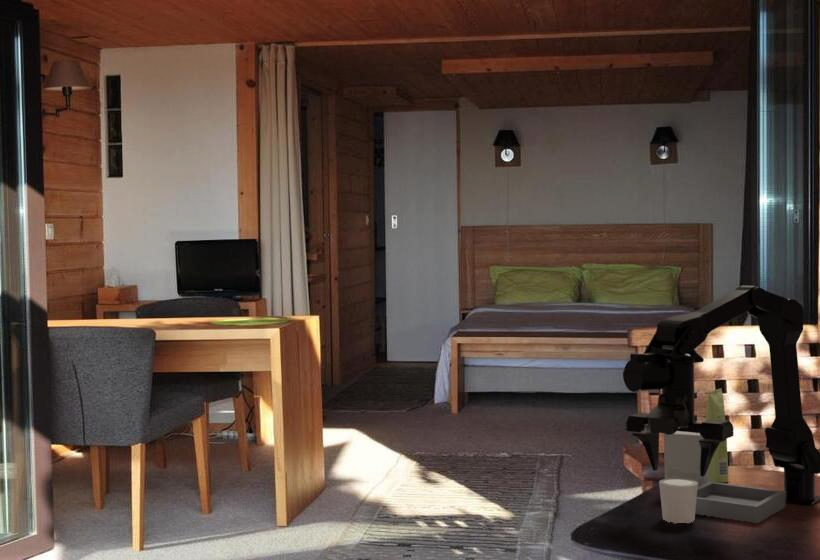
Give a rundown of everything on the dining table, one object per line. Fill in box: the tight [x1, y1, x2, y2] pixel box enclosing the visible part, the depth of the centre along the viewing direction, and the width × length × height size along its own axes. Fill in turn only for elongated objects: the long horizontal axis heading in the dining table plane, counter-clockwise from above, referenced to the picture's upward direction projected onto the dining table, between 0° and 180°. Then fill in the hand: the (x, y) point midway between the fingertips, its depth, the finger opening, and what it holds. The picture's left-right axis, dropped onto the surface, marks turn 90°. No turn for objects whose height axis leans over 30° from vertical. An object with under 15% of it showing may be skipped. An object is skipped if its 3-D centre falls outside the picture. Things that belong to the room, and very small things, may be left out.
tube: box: [705, 388, 729, 484], centre depth 225 cm, size 6×5×20 cm
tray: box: [695, 482, 787, 524], centre depth 200 cm, size 15×15×3 cm
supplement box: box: [663, 431, 710, 487], centre depth 214 cm, size 7×7×13 cm
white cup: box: [658, 478, 698, 524], centre depth 193 cm, size 7×7×7 cm
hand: (678, 473), depth 193 cm, fingers open, 9 cm apart
